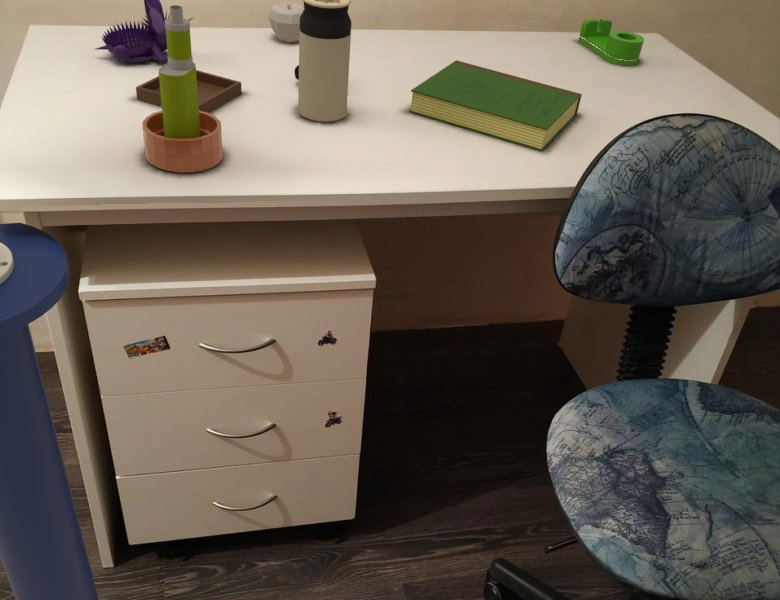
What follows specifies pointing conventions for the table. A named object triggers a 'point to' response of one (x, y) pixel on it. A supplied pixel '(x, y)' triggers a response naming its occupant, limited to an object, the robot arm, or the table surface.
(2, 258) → the robot arm
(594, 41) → the green stand
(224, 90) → the tray
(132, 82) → the table surface
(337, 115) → the travel mug
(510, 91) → the hardcover book
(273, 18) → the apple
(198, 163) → the bowl
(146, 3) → the creature
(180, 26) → the vape
